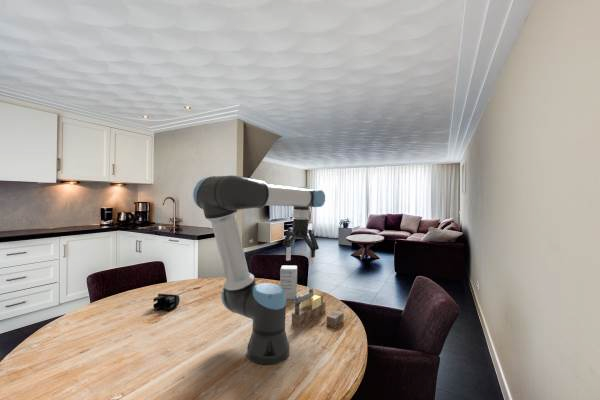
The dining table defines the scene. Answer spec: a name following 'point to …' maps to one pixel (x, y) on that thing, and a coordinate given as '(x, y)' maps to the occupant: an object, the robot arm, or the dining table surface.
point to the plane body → (306, 313)
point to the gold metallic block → (312, 302)
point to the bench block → (335, 318)
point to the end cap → (166, 302)
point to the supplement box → (289, 280)
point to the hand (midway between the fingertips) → (299, 262)
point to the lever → (303, 296)
